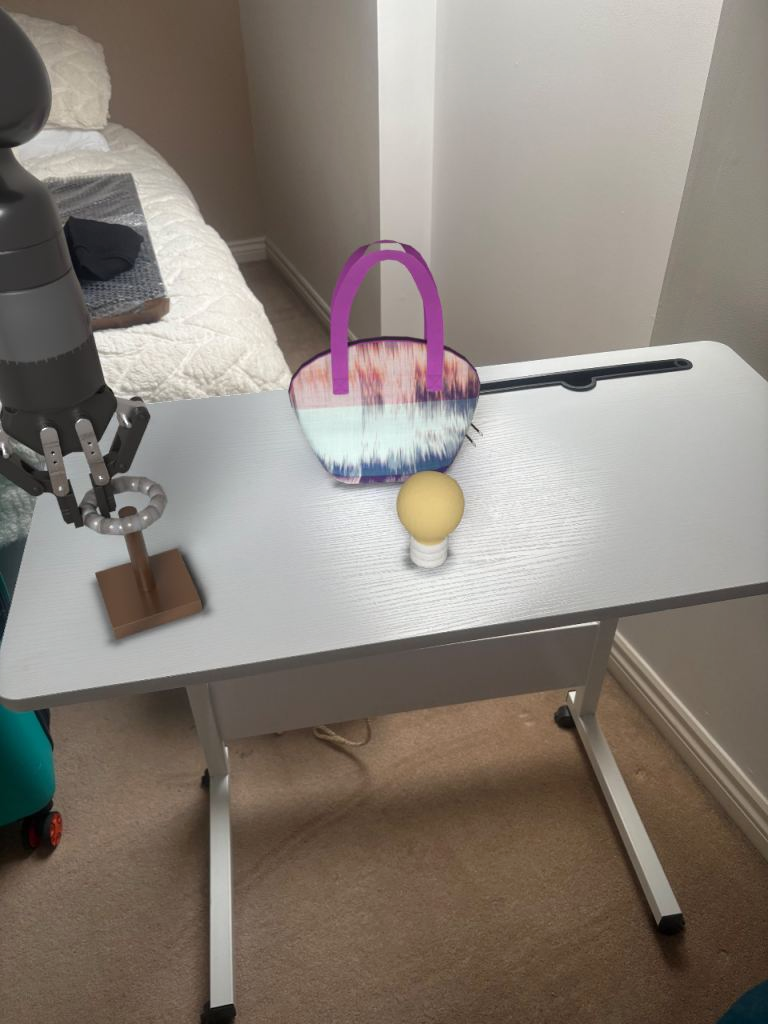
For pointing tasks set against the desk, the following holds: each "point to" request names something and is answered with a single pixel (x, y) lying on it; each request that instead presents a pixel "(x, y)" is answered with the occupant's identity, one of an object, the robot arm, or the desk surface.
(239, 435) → the desk surface
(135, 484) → the grey beaded ring
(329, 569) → the desk surface
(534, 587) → the desk surface
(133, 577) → the stand
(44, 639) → the desk surface
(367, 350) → the handbag
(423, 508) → the light bulb
